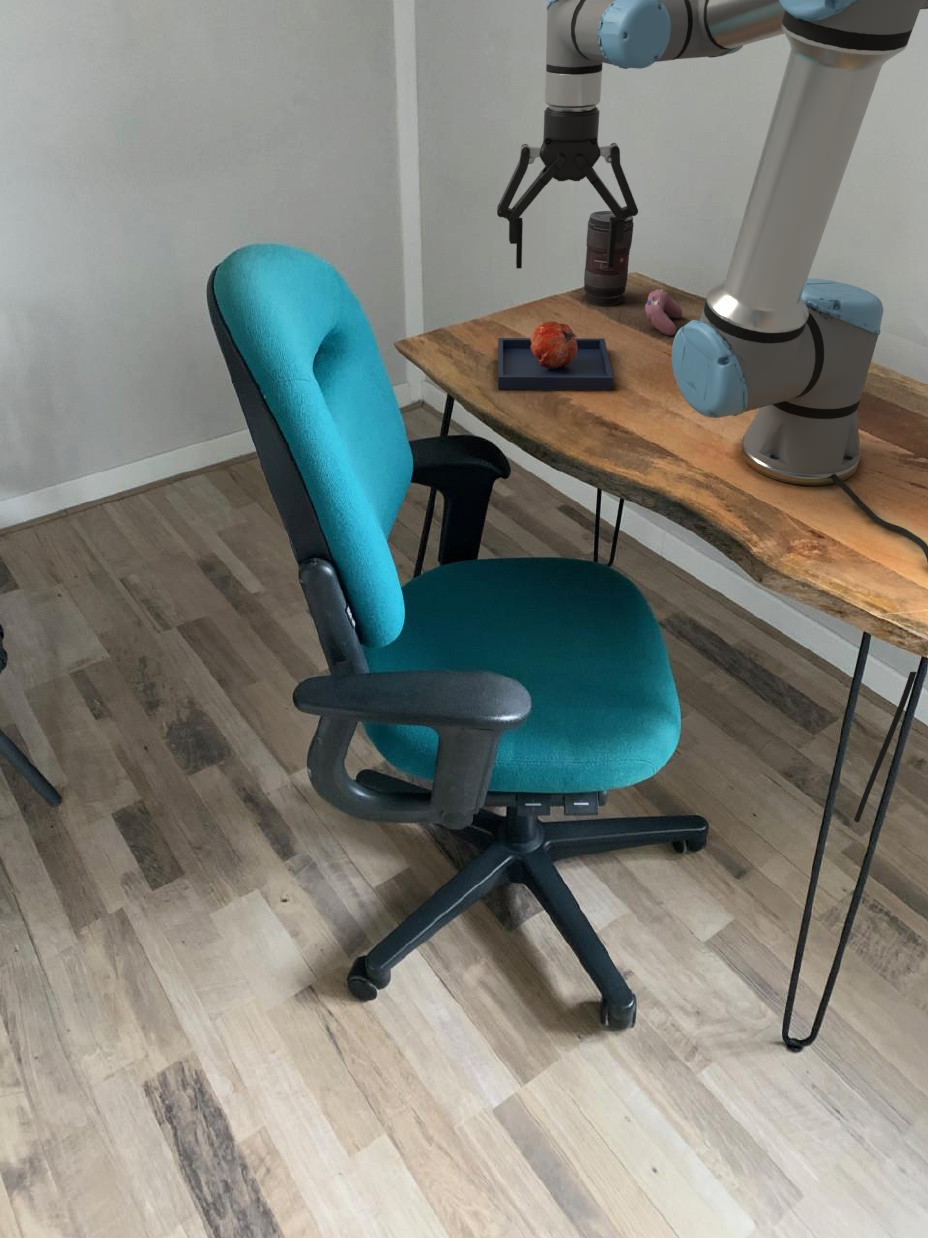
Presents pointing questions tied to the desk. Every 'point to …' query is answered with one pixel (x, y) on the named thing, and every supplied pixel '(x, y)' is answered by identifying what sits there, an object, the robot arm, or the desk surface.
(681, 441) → the desk surface
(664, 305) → the video game controller
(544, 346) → the pomegranate
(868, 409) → the desk surface
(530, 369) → the tray
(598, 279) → the camera lens
